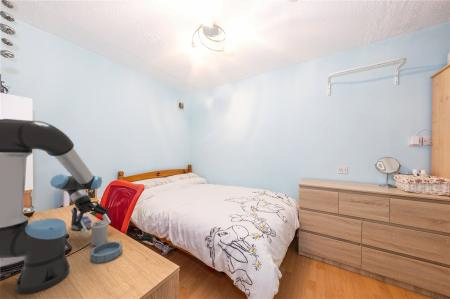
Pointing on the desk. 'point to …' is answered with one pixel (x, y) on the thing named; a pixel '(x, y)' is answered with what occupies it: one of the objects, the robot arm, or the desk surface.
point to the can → (99, 233)
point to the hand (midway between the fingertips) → (98, 228)
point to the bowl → (106, 252)
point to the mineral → (85, 221)
